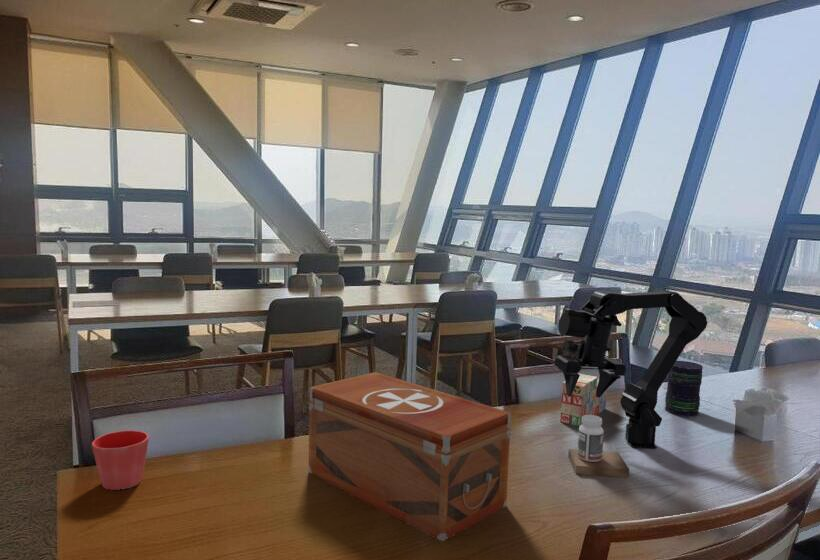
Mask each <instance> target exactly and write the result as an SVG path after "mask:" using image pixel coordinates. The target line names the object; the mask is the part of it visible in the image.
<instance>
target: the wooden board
mask: <svg viewBox="0 0 820 560" xmlns="http://www.w3.org/2000/svg"><path fill="white" fill-rule="evenodd" d="M567 457H568V460H569V462H570V463H571V466H572V469H573V471H574V474H575V475H585V476H586V475H587V476H605V477H622V478H629V476H630V468H629V466H628V465H627V464H626V462H625V460H624V459H623V457H622V456H621V453H619V452H618V451H608V450H607V451H605V450H603V452H602V459H601V460H600V461H598V462H588V461H584V460H582V459H580V458H579V457H578V449H571V448H568V453H567Z"/></svg>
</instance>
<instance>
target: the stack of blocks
mask: <svg viewBox="0 0 820 560" xmlns="http://www.w3.org/2000/svg"><path fill="white" fill-rule="evenodd" d="M578 374H579V375H580V376H579V379H578V381H577V383H576V386H575V388H574V391H573V393H572V395H571V396H570V397H569V396H567V391H566V383H565V380H564V381H563V382H562V391H561V401H560V402H561V409H560V423H561V422H563V424H565V423H567V424H566V425H569V424H570V425H571V426H575V427H578V428H579V427H580V426H581V425H582V424H583V423H582V416H583V415H595V416H598V415H599V414H601V413H602V412H603V411H604V410H606V406H607V405H606V404H607V390H608V389H607V390H606V391H605V392H604V393H603V394H602V395H601V396H600V397H599V398H598V397H596V390H597V386H598V381H599V377H598V376H595V375H588V374H583V373H578ZM570 425H569V426H570Z"/></svg>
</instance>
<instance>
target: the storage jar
mask: <svg viewBox="0 0 820 560" xmlns="http://www.w3.org/2000/svg"><path fill="white" fill-rule="evenodd" d="M666 378H667V379H666V380H667V387H666V392H665V399H664V400H665V401H664V402H665V404H664V405H665V407H664V410H665V412H667V413H669V414H672V415H674V416H679V417H687V418H693V417H697V416H699V410H700V406H701V396H700V392H701V385H702V381H703V380H702V379H703V365H702V364H699V363H696V362H693V361H686V360H677V361H676V362H675V364H674V366H673V367H672V369H671V370H670V372H669V374H668V375H667V377H666Z"/></svg>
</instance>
